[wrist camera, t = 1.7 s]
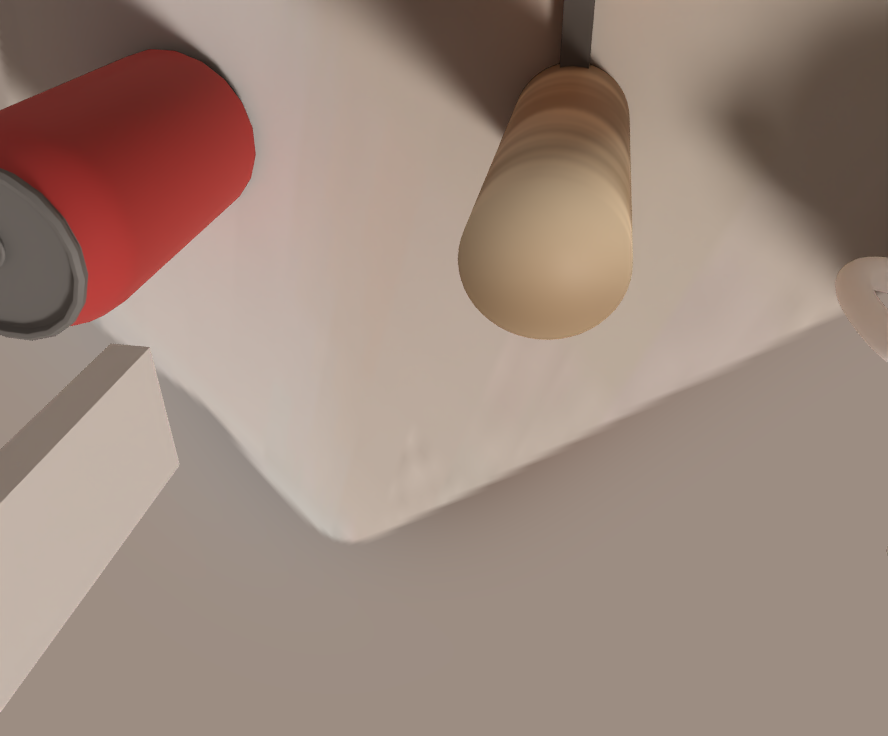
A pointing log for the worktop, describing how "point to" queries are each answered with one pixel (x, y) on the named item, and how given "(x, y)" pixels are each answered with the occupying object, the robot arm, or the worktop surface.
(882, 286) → the cup
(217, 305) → the worktop surface
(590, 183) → the tethered cylinder
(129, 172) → the beer can
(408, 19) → the worktop surface
